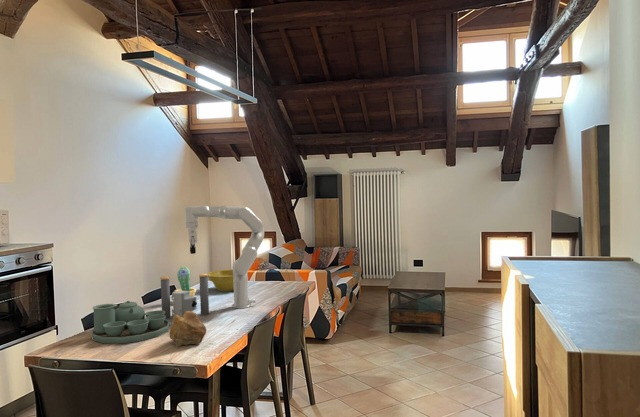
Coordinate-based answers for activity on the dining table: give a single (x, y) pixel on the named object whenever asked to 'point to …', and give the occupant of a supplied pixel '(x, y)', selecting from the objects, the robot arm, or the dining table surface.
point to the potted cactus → (185, 280)
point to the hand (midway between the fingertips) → (192, 252)
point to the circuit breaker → (183, 303)
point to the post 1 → (165, 296)
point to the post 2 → (204, 294)
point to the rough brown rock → (187, 329)
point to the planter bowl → (222, 279)
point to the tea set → (127, 323)
